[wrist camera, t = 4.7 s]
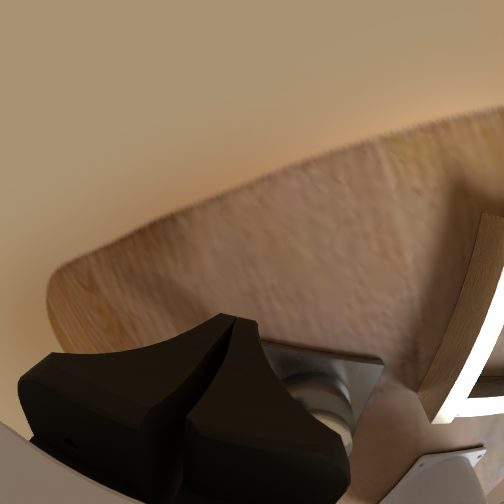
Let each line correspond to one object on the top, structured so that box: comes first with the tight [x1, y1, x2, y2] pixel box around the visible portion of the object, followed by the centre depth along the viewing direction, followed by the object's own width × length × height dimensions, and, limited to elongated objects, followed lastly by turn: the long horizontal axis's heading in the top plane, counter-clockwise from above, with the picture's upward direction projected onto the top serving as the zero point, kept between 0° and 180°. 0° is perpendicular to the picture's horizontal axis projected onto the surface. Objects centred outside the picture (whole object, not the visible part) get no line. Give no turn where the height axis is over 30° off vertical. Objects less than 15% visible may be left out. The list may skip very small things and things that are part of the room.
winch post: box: [261, 340, 385, 438], centre depth 15 cm, size 7×7×3 cm
